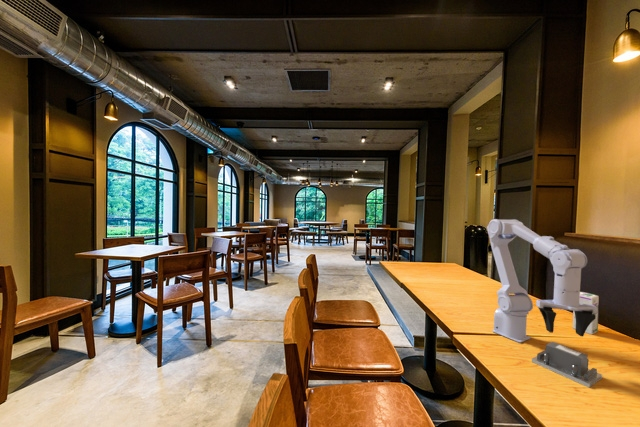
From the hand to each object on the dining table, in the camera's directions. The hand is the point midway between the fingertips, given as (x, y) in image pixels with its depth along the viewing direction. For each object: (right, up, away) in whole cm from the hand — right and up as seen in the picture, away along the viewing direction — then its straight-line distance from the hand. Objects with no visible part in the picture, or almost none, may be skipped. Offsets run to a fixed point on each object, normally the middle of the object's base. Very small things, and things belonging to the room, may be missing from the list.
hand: (564, 333), depth 80 cm
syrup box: (+31, -10, +24) cm, 40 cm away
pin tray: (-2, -10, -2) cm, 10 cm away
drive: (-2, -9, -2) cm, 9 cm away
